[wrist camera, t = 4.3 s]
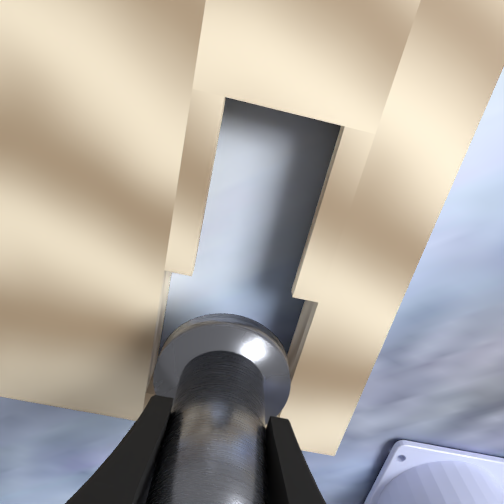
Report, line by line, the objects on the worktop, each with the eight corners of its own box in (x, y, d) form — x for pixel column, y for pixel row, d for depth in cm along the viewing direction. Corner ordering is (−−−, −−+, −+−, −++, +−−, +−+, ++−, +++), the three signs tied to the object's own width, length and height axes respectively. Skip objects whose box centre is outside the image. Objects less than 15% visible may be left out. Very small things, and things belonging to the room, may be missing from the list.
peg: (275, 426, 16) (290, 678, 9) (154, 409, 16) (72, 657, 9) (301, 324, 14) (347, 545, 7) (164, 303, 14) (69, 511, 7)
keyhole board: (327, 422, 20) (334, 456, 18) (-8, 360, 19) (-38, 390, 17) (522, -61, 12) (572, -92, 10) (-33, -226, 11) (-95, -298, 9)
